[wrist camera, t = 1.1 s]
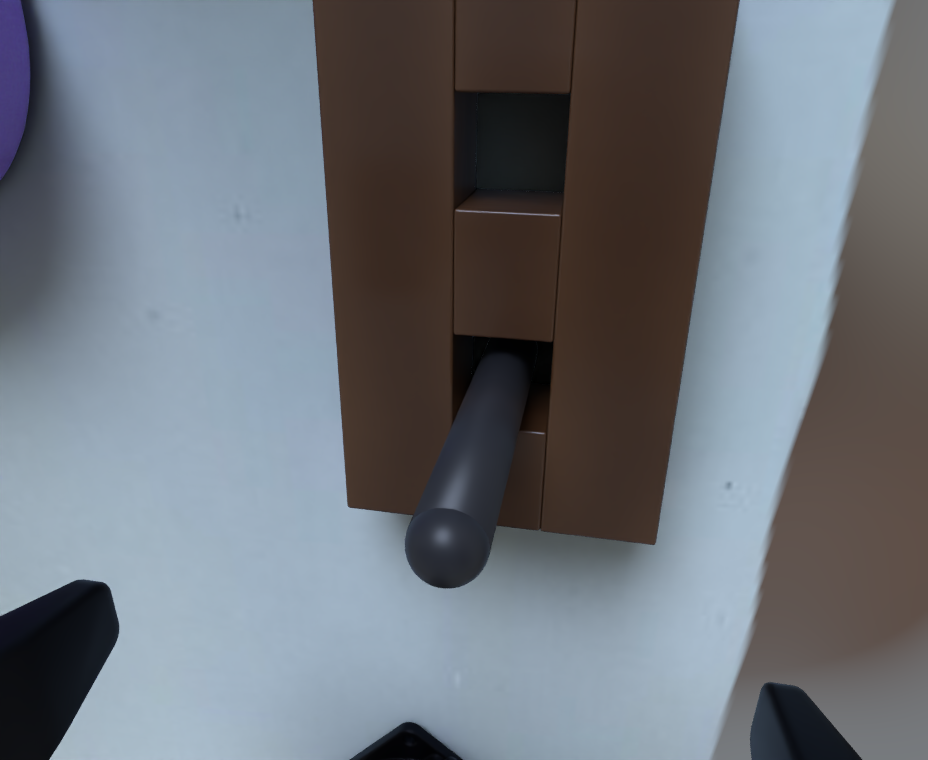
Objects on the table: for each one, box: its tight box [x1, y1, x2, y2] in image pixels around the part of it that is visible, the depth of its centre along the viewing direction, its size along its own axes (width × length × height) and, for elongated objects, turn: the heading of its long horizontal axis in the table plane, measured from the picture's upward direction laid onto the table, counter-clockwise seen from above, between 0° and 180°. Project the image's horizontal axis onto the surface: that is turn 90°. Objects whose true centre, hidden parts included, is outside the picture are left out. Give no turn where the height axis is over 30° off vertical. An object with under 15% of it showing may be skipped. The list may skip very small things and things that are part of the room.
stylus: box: [405, 338, 538, 588], centre depth 15 cm, size 1×1×10 cm
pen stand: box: [313, 0, 740, 545], centre depth 17 cm, size 8×14×3 cm, turn 179°
